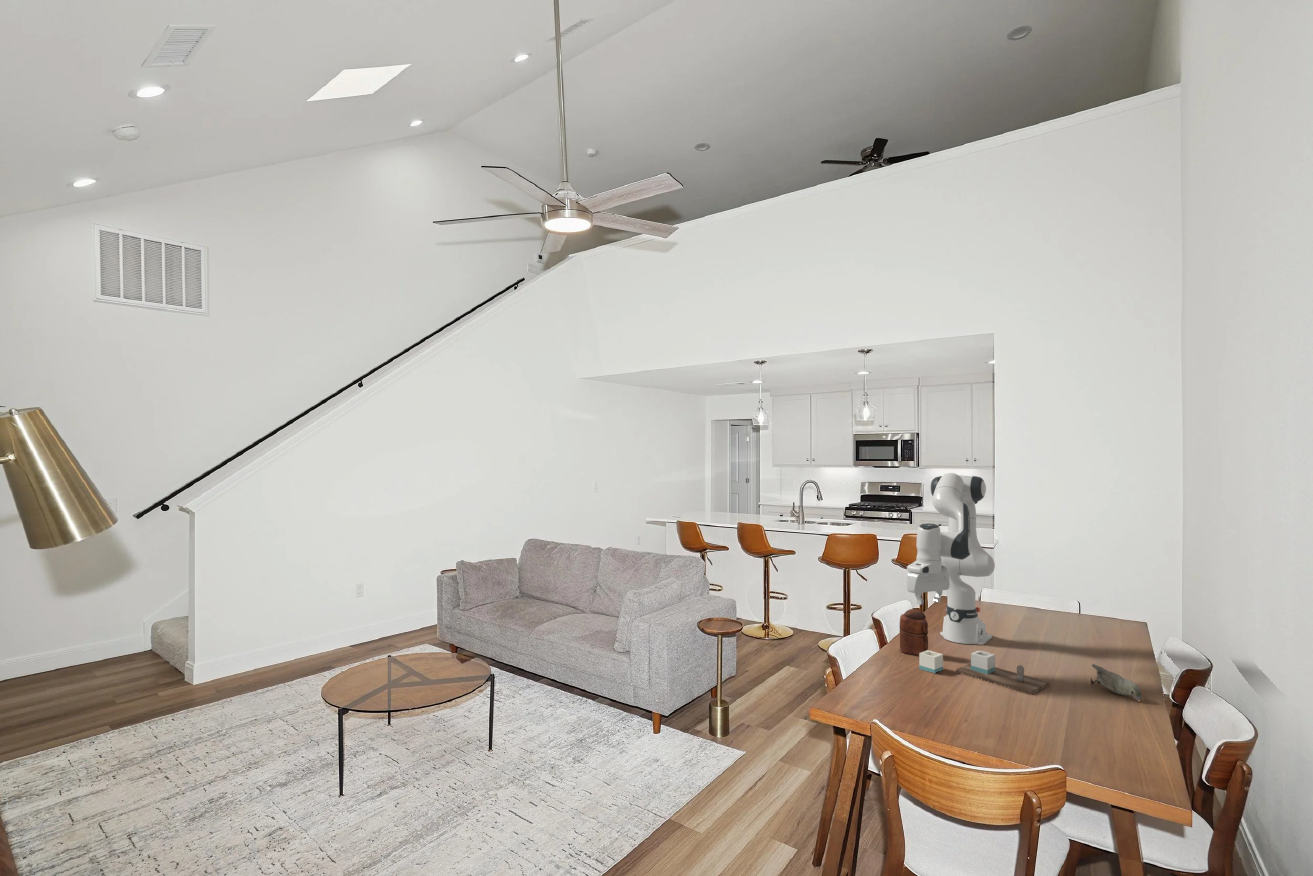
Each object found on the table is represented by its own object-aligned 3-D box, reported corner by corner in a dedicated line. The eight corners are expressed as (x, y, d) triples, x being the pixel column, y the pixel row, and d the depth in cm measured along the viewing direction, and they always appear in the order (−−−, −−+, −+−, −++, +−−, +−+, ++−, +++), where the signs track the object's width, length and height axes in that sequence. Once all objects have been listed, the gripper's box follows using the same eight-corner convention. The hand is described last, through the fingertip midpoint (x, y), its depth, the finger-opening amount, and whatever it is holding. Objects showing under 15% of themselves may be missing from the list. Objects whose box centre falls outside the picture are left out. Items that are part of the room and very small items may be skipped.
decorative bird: (1133, 704, 204) (1133, 681, 204) (1087, 686, 219) (1087, 664, 220) (1146, 702, 206) (1145, 679, 206) (1098, 684, 221) (1098, 663, 221)
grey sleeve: (978, 666, 235) (978, 650, 235) (995, 670, 230) (995, 654, 230) (971, 669, 231) (970, 653, 231) (987, 674, 226) (987, 657, 226)
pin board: (974, 664, 240) (974, 647, 240) (1049, 685, 219) (1048, 666, 219) (956, 672, 232) (956, 654, 232) (1031, 694, 211) (1031, 675, 211)
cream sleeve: (927, 665, 238) (927, 650, 238) (943, 670, 234) (943, 654, 234) (919, 669, 235) (919, 653, 235) (934, 673, 230) (934, 657, 230)
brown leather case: (931, 654, 251) (931, 610, 251) (926, 658, 246) (926, 613, 247) (902, 648, 259) (902, 605, 259) (896, 652, 254) (896, 608, 254)
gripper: (939, 563, 245) (939, 599, 245) (903, 566, 236) (903, 603, 235) (953, 566, 240) (953, 602, 239) (917, 569, 230) (917, 607, 229)
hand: (928, 603), depth 237 cm, fingers open, 8 cm apart
